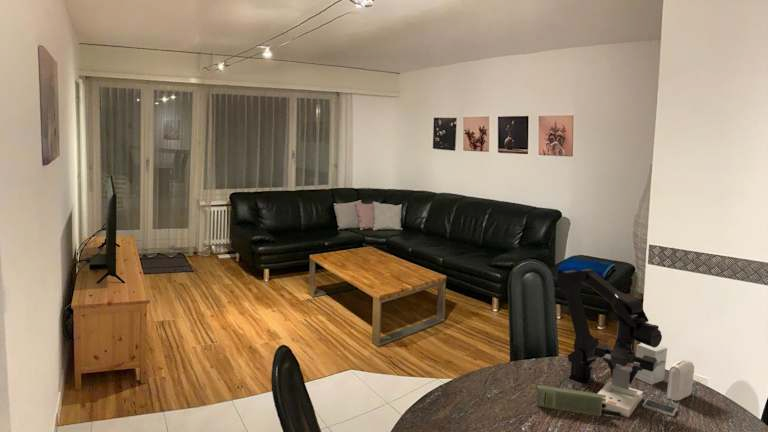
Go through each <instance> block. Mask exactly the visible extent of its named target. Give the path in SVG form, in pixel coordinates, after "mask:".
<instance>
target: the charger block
mask: <svg viewBox="0 0 768 432" xmlns="http://www.w3.org/2000/svg"><path fill="white" fill-rule="evenodd" d="M631 373H632V367H629V366H621V365H618V364H616V367H615V368H614V369H613V376H612V375H611V382H612V385H614V386H617V387H621V388H624V389H627V390H628V389H629V388H631V387H632V385H633V383H632V384H630V377H631Z"/></svg>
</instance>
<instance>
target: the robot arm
mask: <svg viewBox="0 0 768 432" xmlns="http://www.w3.org/2000/svg"><path fill="white" fill-rule="evenodd" d="M556 281H557V285H558V287H559V290H560V291H561V292H562V294H563V295H564V296H565V298H566V301H567V305H568V309H569V313H570V318H571V322H572V325H573V330H574V334H575V338H574V342H573V349H574V351H572V352H571V353H569V354H568V355H567V359H568V362H570V363H571V365H570V374H569V376H568V378H569V379H571V380H575V381H578V382H582V383H584V384H585V383H586V384H588V383H589V381H591V380H592V379H593V373H594V372H593V371H594V367H593V366H592V365H593V362H596V360H597V359H598V358H600V359H601V358H602V361H604V362H605V363H606V364H607V365H608V368H609V371H610V375H611V377H612V376H613V369H614V368H615V367H616V366H617V364H618V365H621V366H625V367H627V365H628V364H633V365H632V367H631V368H632V373H631V377H630V384H632V385H633V381H634V380H635V379H636V378H635V376H636V374H637V372H638V371H639V370H640V371H642V370H643V369H644V370H648V371H654V369H655V368H656V367H657V359H656V358H654V357H650V356H646V355H644V356H643V357H642V358H640V357H636V350H635V349H636V343H639V344H642V343H643V344H646V345H648V346H651V347H653V348H655V347H657V346H658V345H660V344H661V342H662V339H663V335H662V331H661V330H659V329H660V328H659V325H657V324H652V323H649V318H648V316H647V314H646V312H645V310H644V309H643V306H642V302H641V301H640V300H639V299H638V298H636V297H633V296H632V295H630V294H627V293H624V292H621V291H619V290H618V289H617V288H616V287H614V286H613V285H612V284H611V283H609V282H608V281H606V279H604V278H603V277H601V276H600V275H599V274H598V273H596V271H595V270H594V269H592V268H586V269H581V270H579V271H577V270H574V269H572V270H566V271H561V272H559V273H558V274H557V276H556ZM583 282H584V283H586V284H587V285H588V286H589V287H591V288H592V289H593V290H594V291H595V292H597V293H598V294H599V295H600V296H601V297H603V298H604V299H605V300H606V301H607V302H608V303H609V304H610V305H611V308H612V310H613V311H614V312H615V313H616V315H615V316H612V318H611V320H613V321H616V322H617V330H616V338H615V343H614V345H613V348H612V349H611V346H610V345H607V344H603V343H599V339H598V337H596V338H594V337H593V335H592V334H591V331H590V329H589V324H588V320H587V316H586V312H585V307H584V304H583V303H584V302H583V300H582V296H581V292H582V288H583Z"/></svg>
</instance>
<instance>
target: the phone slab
mask: <svg viewBox="0 0 768 432" xmlns="http://www.w3.org/2000/svg"><path fill="white" fill-rule="evenodd" d="M642 408H645V409H649V410H651V411H655V412H657V413H660V414H662V415H663V414H664V415H667V416H670V417H672V418H673V417H675V415H676V414H677V411H678V408H677V407H675V406H672V405H668V404H665V403H661V402H658V401H656V400H651V399H648V398H646V399H645V400H644V402H643V403H642Z"/></svg>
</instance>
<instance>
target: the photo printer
mask: <svg viewBox="0 0 768 432" xmlns="http://www.w3.org/2000/svg"><path fill="white" fill-rule="evenodd" d="M694 373H695V366H694V363H693V362H692V361H690V360H687V359H682V360H679V361H676V362H675V363H673V365H671V366H670V368H669V372H668V380H667V387H666V388H667V389H666V397H668V399H670V400H672V401H675V402H676V401H680V400H683V399H685V398H687V397H689V396H690V395H692V390H693V382H694Z"/></svg>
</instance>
